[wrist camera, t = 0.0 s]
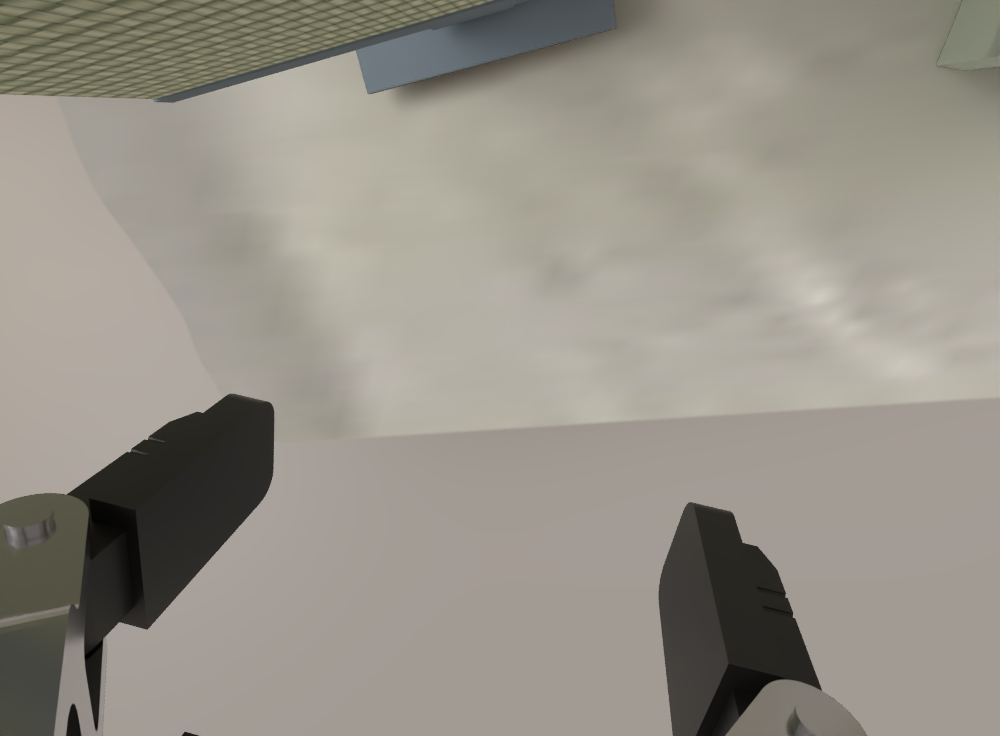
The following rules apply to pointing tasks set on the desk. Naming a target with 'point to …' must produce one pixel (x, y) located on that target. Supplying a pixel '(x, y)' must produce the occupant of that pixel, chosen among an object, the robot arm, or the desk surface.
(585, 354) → the desk surface
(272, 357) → the desk surface
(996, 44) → the shelf
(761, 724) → the robot arm
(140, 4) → the desk lamp
